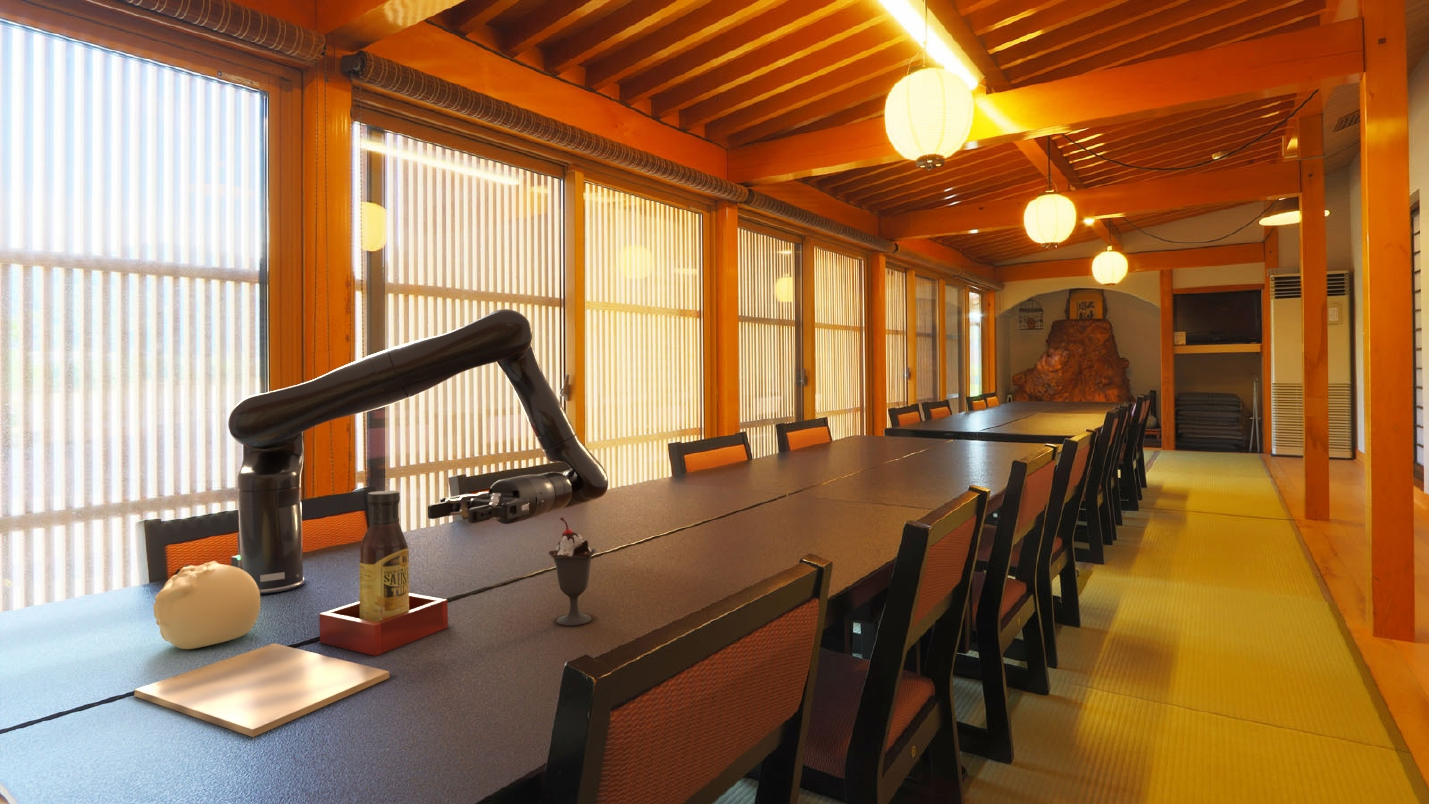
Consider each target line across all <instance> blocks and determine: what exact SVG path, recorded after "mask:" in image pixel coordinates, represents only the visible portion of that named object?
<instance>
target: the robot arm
mask: <svg viewBox="0 0 1429 804" xmlns="http://www.w3.org/2000/svg"><path fill="white" fill-rule="evenodd" d="M493 363H496V364H497V365H498V367H499V368H500V369H501V371H502V372H503V374H504V375H505V377H506V378H507V380H508V382H509V384H510V385H511V387H512V389H513V391H514V392H515V394H516V396H517V398H518V400H519V403H520V405H521V408H522V410H523V412H524V414H525V416H526V419H527V422H528V423H529V424H528V425H529V426H530V428H531V431H532V433H533V434H534V436H535V438H536V441H537V442H538V444H539V446H540V448H541V450H542V452H543V454H544V456H545V458H546V459H547V460H548V462H551V463H565V464H566V465H568V467H570V468H569V469H567V470H564V471H561V472H558V471H550V472H549V471H548V472H543V473H538V474H525V475H518V476H513V477H508V478H501V479H498V480H497V481H496V482H493V484H492V485H491V486H490V488H489V490H488V491H481V492H480V491H479V492H478V493H476V494H475V493H474V494H473V493H472V494H471V493H464V494H459V495H453V496H448V497H441V498H440V499H439V502H437V503H432V504H429V505H428V506H427V518H428V519H429V520H436V519H441V518H445V517H452V516H461V517H462V518H468V523H469V524H477V523H481V522H485V521H488V520H490V521H496V522H497V523H500V524H502V525H511V524H515V523H519V522H522V521H523V522H524V521H527V520H529V519H533V518H536V517H540V516H541V515H543V514H547V513H551V512H554V511H558V510H561V509H568V508H572V507H576V506H579V505H583V504H586V503H588V502H591V501H595V500H598V499H599V498H602V497H603V496H605V494H606V493H607V491H608V488H609V479H608V474H607V472H606V470H605V468H604V467H603V465H602V464H601V462H600V461H599V460H598V459H597V458H596V457H595V456H594V455H593V454H592V452H591V450H589V449H588V448H587V447H586V445H585V444H584V443H583V442H582V441H581V439H580V438H579V436H578V434H577V432H576V430H575V428H574V426H573V424H572V422H571V419H570V418H569V416H568V414H567V413H566V411H565V409H564V407H563V405H562V404H561V402H560V400H559V399H558V397H557V395H556V394H555V392H554V391H553V389H552V387H551V385H550V384H549V382H548V380H547V378H546V377H545V375H544V373H543V371H542V369H541V366H540V363H539V362H538V359H537V355H536V353H535V349H534V347H533V327H532V324H531V323H530V321H529V320H528V319H527V317H526V316H525V315H524V314H522V313H520V312H519V311H516V310H513V309H509V308H501V309H498V310H494V311H492V312H490V313H488V314H487V315H485V316H483V317H480V318H479V319H477V320H475V321H473V322H471V323H468V324H466V325H463V326H461V327H459V328H457V329H455V330H452V331H449V332H446V333H443V334H439V335H434V336H431V337H426V338H421V339H418V340H413V341H410V342H407V343H404V344H400V345H397V346H393V347H391V348H387V349H385V350H381V351H378V352H376V353H373V354H370V355H367V356H365V357H363V358H360V359H358V360H355V361H353V362H350V363H348V364H345V365H343V366H340V367H338V368H336V369H333V370H332V371H329V372H328V373H326V374H323V375H321V376H318V377H317V378H314V379H312V380H309V381H305V382H302V383H300V384H297V385H292V386H288V387H285V388H281V389H276V390H273V391H272V390H271V391H267V392H264V393H258V394H257V393H256V394H253V395H250V396H248V397H245V398H243V399H242V400H240V401H239V403H237V404H236V406H234V407H233V409H232V410H231V413H230V414H229V417H228V421H227V427H228V431H229V434H230V435H231V437H232V438H233V439H234V440H235V441H236V442H237V443H238V444H240V445H242V462H241V466H240V469H239V471H238V473H237V478H236V479H237V481H236V483H237V485H236V486H237V506H238V533H237V535H236V537H237V539H236V540H237V541H236V543H237V555H232V556H230V566H234V567H237V568H240V569H242V570H244V571H245V572H247V573H248V574H249V575H250V576H251V577H252V578H253V579H254V581H255V582H256V584H257V586H258V589H259V592H260V595H268V594H276V593H282V592H286V591H289V590H293V589H297V588H299V587H301V586H303V585H304V584H305V577H304V552H303V551H304V550H303V547H304V546H303V518H302V517H303V516H302V515H303V514H302V513H303V512H302V486H301V483H302V482H301V477H302V476H301V475H302V471H303V464H304V432H305V431H308V430H310V429H313V428H314V427H317V426H318V425H321V424H324V423H326V422H329V421H334V420H337V419H340V418H346V417H350V416H354V415H358V414H363V413H366V412H370V411H373V410H378V409H381V408H384V407H387V406H390V405H393V404H396V403H399V402H402V401H403V400H404V401H405V400H407V399H409V398H412V397H415V396H417V395H420V394H422V393H424V392H426V391H428V390H431V389H432V388H434V387H436V386H438V385H440V384H442V383H444V382H445V381H448V380H449V379H451V378H453V377H455V376H457V375H459V374H461V373H463V372H467V371H469V370H472V369H475V368H479V367H483V366H486V365H491V364H493ZM190 565H191V564H185V566H184V565H182V566H183V567H188V566H190ZM179 571H180V569H178V568H177V569H176V570H175V572H174V575H177V574H178V572H179Z"/></svg>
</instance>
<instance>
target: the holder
mask: <svg viewBox="0 0 1429 804" xmlns="http://www.w3.org/2000/svg"><path fill="white" fill-rule="evenodd" d="M448 609H449V608H448V599H445V598H439V597H433V596H429V595H424V594H423V595H422V594H418V593H412V592H409V611H406V612H403V613H401V614H398V615H395V616H392V617H389V618H386V619H383V620H380V621H378V622H373V621H368V620H363V619H360V600H359V601H356V602H353V603H350V604H346V605H343V606H340V607H337V608H334V609H330V610H326V611H324V612H320V613H319V614H318V615H319V616H318V617H319V620H318V621H319V643H320V644H323V645H328V646H331V647H336V648H339V649H343V650H344V649H345V650H348V651H352V652H356V653H362V654H366V655H370V656H373V657H376V656H379V655H382V654H385V653H386V652H389V651H392V650H395V649H397V648H400V647H402V646H404V645H407V644H409V643H412V642H414V641H417V640H420V639H422V638H425V637H427V636H429V635H433V634H435V633H438V632H440V631H442V630H445V629H447V628H449V611H448Z"/></svg>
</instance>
